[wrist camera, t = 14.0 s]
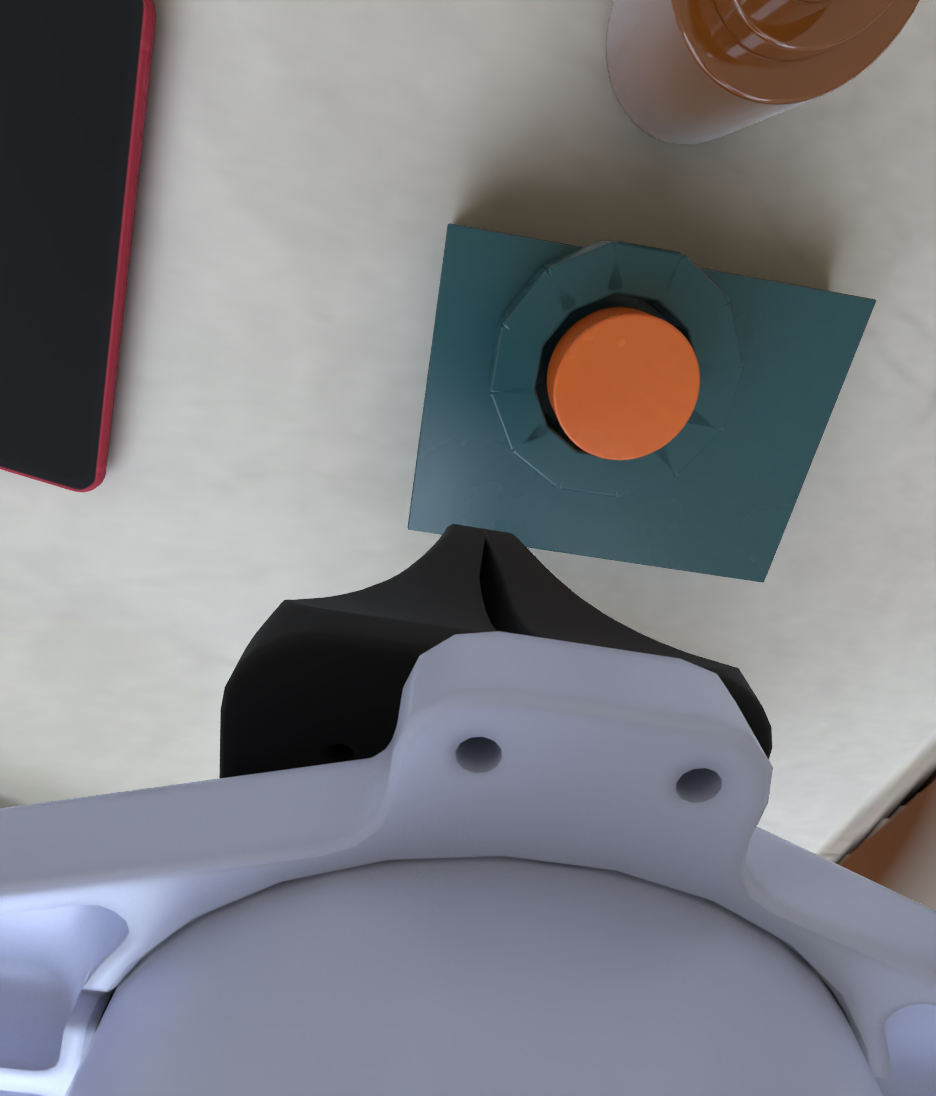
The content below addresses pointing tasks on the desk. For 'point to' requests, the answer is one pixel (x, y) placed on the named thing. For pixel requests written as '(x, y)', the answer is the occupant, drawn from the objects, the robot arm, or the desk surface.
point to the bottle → (738, 58)
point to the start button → (622, 383)
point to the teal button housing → (649, 481)
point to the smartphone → (66, 225)
